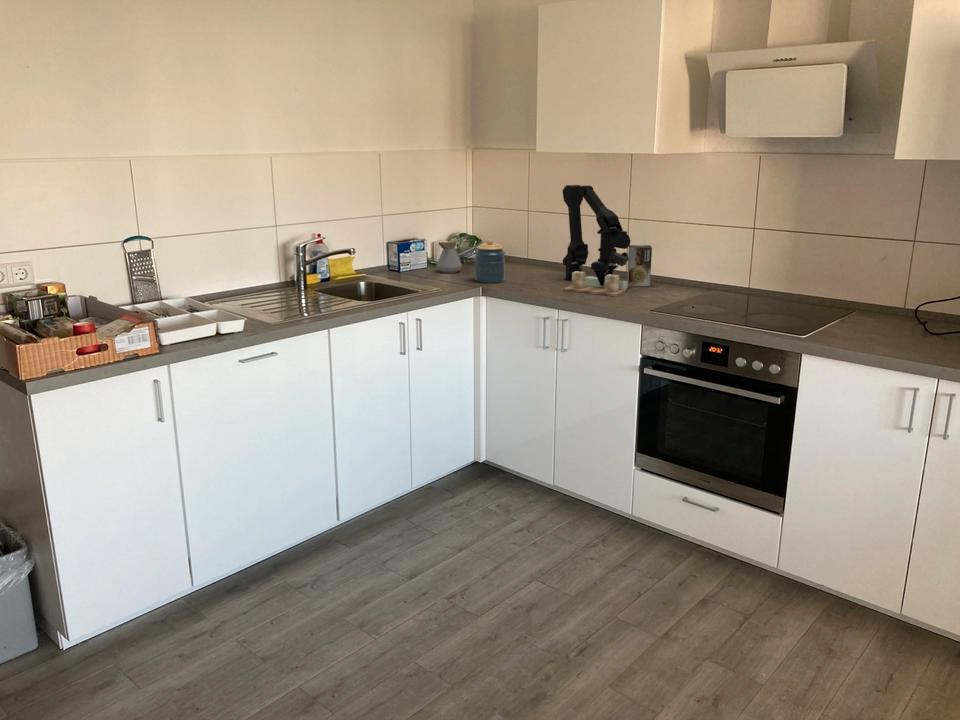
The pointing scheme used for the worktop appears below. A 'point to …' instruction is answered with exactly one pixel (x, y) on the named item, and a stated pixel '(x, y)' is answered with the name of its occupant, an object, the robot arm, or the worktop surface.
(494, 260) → the canister
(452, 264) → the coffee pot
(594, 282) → the sage plank
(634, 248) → the coffee box
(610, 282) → the birch gate
